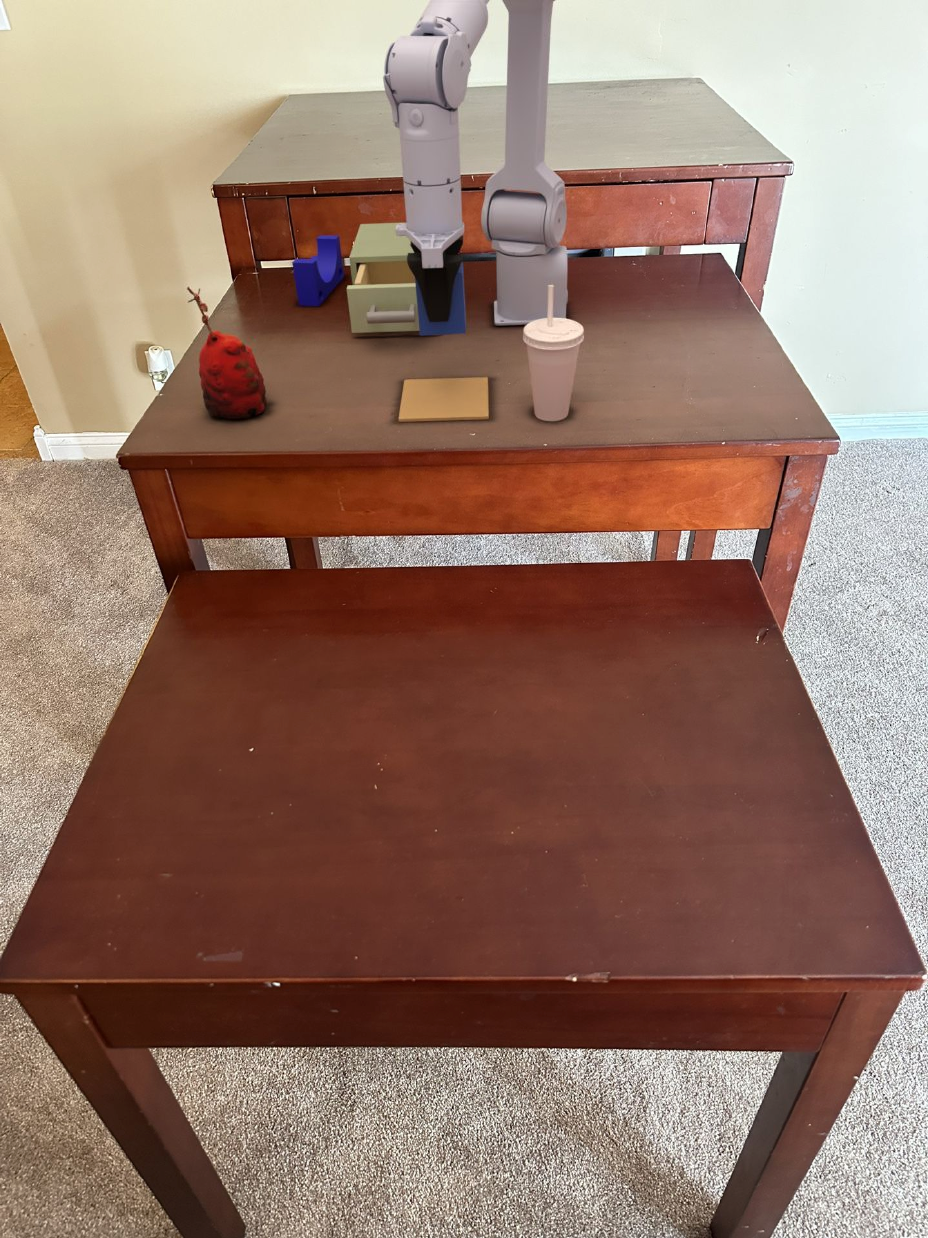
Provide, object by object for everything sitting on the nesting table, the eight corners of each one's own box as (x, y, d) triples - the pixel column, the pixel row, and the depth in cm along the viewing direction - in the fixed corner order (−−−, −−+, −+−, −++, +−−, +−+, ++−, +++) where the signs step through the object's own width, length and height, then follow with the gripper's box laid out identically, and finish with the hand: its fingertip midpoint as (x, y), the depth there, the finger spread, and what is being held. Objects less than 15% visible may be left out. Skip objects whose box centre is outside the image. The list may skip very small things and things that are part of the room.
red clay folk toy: (281, 410, 103) (256, 278, 93) (228, 431, 99) (197, 296, 90) (245, 390, 107) (218, 262, 98) (193, 410, 104) (160, 279, 94)
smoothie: (552, 394, 103) (556, 271, 94) (592, 413, 99) (599, 287, 90) (510, 412, 100) (510, 287, 91) (549, 432, 96) (553, 303, 87)
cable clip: (316, 275, 137) (310, 234, 133) (344, 276, 136) (339, 235, 132) (289, 304, 128) (281, 262, 124) (318, 306, 127) (312, 262, 123)
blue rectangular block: (466, 321, 100) (462, 261, 96) (465, 333, 97) (462, 272, 93) (421, 323, 100) (416, 264, 96) (419, 335, 97) (414, 275, 93)
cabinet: (445, 309, 124) (442, 253, 120) (355, 312, 125) (349, 256, 120) (448, 273, 136) (446, 220, 131) (366, 276, 136) (360, 223, 131)
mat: (488, 379, 107) (488, 376, 107) (488, 419, 99) (488, 416, 99) (404, 382, 107) (404, 379, 107) (398, 421, 99) (398, 418, 99)
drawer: (437, 342, 114) (435, 297, 110) (348, 345, 114) (342, 300, 110) (442, 292, 127) (439, 250, 123) (362, 295, 127) (357, 253, 124)
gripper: (397, 161, 95) (407, 290, 103) (385, 200, 83) (398, 341, 92) (463, 159, 94) (468, 288, 103) (461, 197, 83) (466, 339, 92)
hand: (439, 313), depth 98 cm, fingers closed on blue rectangular block, 3 cm apart
